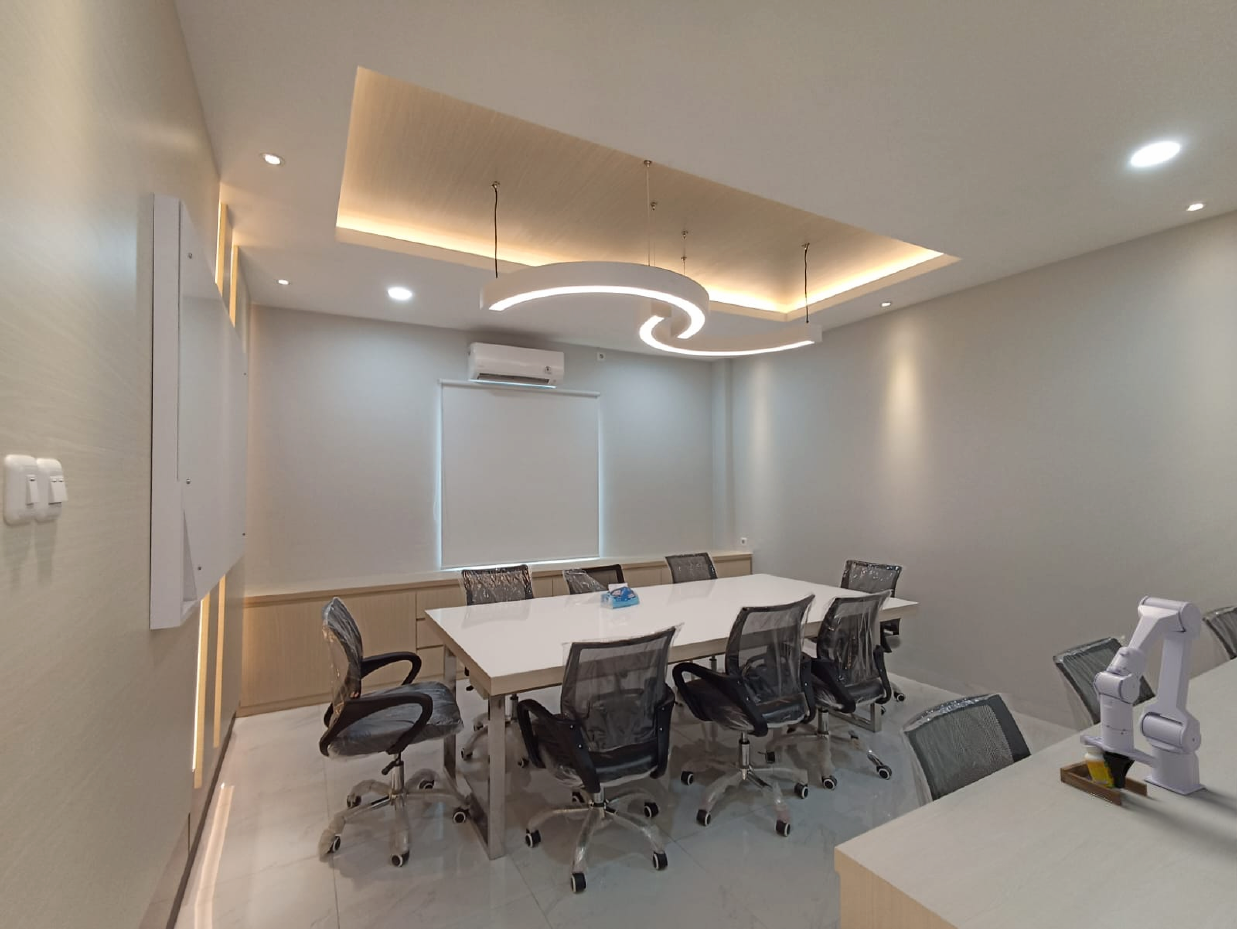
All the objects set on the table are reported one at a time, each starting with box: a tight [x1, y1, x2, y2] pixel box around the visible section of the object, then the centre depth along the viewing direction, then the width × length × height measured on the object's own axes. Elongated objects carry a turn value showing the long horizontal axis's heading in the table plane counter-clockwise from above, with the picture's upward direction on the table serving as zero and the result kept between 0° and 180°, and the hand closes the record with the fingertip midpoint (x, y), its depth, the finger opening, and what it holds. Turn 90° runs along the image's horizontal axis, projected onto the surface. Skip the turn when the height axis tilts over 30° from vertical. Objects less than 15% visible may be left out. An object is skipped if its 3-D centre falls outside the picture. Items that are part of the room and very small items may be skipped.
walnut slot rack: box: [1059, 760, 1148, 806], centre depth 135 cm, size 11×12×3 cm
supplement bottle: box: [1083, 744, 1124, 792], centre depth 135 cm, size 5×5×10 cm
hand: (1118, 787), depth 131 cm, fingers closed, pressing on supplement bottle
